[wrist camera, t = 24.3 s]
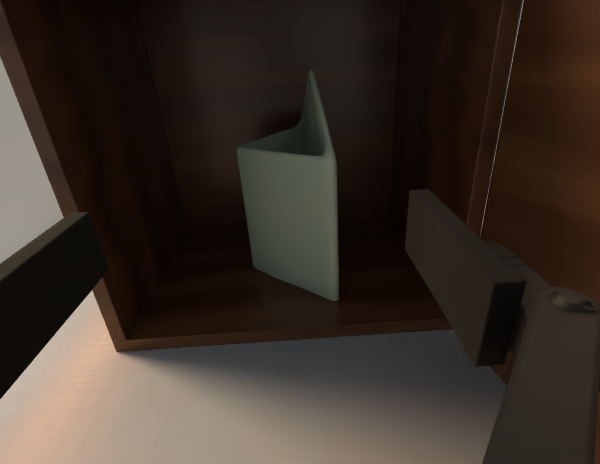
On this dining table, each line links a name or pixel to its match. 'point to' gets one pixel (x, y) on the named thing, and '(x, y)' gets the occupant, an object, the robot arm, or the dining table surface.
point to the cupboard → (249, 127)
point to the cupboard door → (551, 152)
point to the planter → (294, 201)
